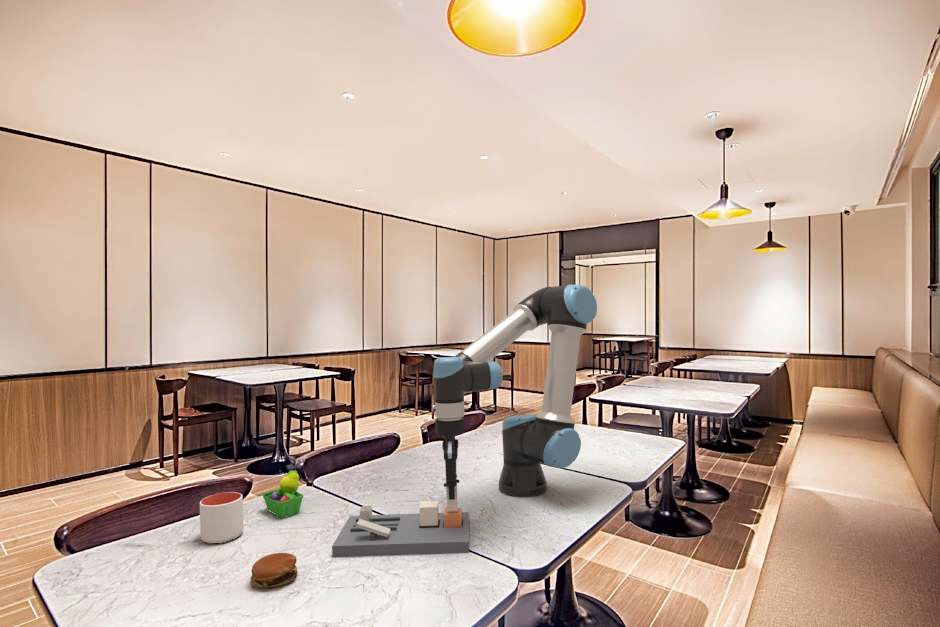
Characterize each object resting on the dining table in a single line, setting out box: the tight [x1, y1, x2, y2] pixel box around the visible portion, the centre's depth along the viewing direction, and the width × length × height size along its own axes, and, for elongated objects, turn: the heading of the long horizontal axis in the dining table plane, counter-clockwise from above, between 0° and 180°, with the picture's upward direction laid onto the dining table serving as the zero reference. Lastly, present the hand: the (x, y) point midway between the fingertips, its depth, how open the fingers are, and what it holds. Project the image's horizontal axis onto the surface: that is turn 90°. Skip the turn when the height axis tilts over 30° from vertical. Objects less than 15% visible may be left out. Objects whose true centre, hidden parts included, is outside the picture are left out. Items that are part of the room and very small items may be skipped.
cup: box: [199, 491, 244, 544], centre depth 132 cm, size 10×10×10 cm
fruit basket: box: [262, 469, 304, 519], centre depth 148 cm, size 11×9×11 cm
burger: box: [250, 552, 298, 589], centre depth 109 cm, size 10×9×5 cm
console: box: [331, 511, 470, 558], centre depth 128 cm, size 32×18×4 cm, turn 90°
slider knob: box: [359, 505, 373, 523], centre depth 130 cm, size 2×4×4 cm, turn 0°
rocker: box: [356, 519, 390, 537], centre depth 123 cm, size 8×3×1 cm, turn 90°
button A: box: [443, 507, 463, 527], centre depth 130 cm, size 4×4×5 cm
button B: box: [419, 500, 440, 526], centre depth 130 cm, size 4×4×5 cm
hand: (452, 510), depth 130 cm, fingers closed
